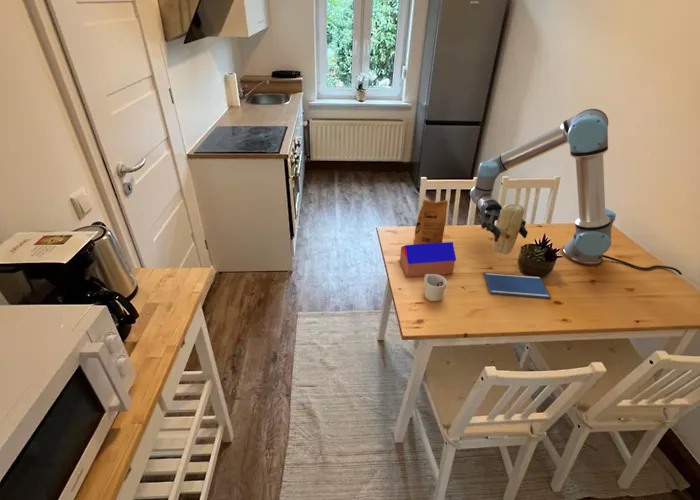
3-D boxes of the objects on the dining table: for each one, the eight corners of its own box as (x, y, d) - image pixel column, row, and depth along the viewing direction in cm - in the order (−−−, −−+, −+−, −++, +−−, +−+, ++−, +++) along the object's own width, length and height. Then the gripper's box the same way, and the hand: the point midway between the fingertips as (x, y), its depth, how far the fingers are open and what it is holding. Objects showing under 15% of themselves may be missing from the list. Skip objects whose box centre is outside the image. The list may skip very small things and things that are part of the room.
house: (453, 273, 158) (458, 250, 151) (406, 277, 155) (409, 253, 148) (443, 257, 168) (447, 234, 161) (398, 260, 165) (401, 237, 158)
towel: (539, 277, 157) (539, 276, 156) (549, 298, 146) (550, 297, 145) (484, 273, 158) (484, 272, 158) (490, 293, 147) (491, 292, 147)
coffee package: (413, 236, 181) (418, 194, 169) (439, 238, 181) (447, 195, 169) (414, 248, 173) (420, 204, 161) (442, 250, 172) (450, 206, 160)
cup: (414, 288, 149) (417, 271, 145) (432, 284, 152) (435, 267, 147) (429, 306, 141) (432, 289, 136) (447, 301, 143) (451, 284, 139)
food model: (507, 245, 155) (520, 200, 144) (517, 254, 149) (531, 208, 138) (485, 248, 153) (497, 202, 142) (494, 257, 147) (507, 211, 136)
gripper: (513, 215, 163) (538, 243, 145) (462, 215, 162) (480, 244, 143) (518, 199, 159) (544, 225, 141) (465, 199, 158) (485, 227, 139)
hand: (512, 235), depth 142 cm, fingers closed on food model, 10 cm apart
